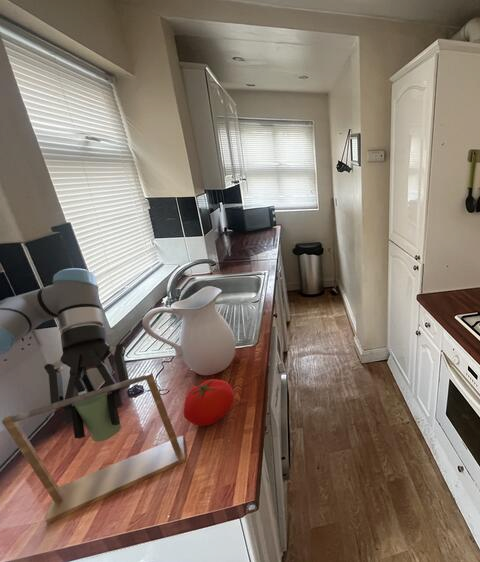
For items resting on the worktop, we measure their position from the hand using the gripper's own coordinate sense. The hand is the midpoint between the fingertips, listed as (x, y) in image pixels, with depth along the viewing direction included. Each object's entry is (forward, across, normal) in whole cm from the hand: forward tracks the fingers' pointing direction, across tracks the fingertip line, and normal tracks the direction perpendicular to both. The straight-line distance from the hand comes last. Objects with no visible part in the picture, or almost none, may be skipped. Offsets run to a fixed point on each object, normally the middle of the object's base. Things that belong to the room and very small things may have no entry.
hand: (98, 430), depth 65 cm
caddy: (0, 0, -5) cm, 5 cm away
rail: (+10, 0, -13) cm, 16 cm away
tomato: (+5, -20, -18) cm, 28 cm away
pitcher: (-13, -20, -36) cm, 43 cm away
